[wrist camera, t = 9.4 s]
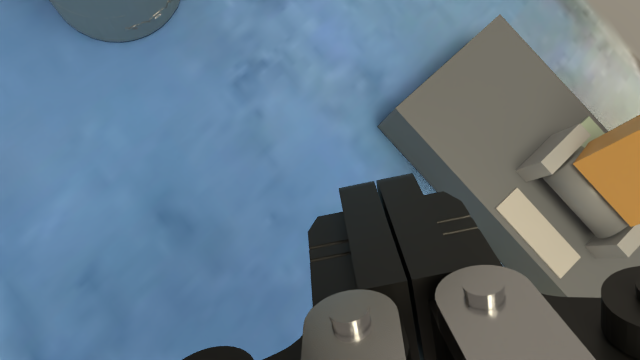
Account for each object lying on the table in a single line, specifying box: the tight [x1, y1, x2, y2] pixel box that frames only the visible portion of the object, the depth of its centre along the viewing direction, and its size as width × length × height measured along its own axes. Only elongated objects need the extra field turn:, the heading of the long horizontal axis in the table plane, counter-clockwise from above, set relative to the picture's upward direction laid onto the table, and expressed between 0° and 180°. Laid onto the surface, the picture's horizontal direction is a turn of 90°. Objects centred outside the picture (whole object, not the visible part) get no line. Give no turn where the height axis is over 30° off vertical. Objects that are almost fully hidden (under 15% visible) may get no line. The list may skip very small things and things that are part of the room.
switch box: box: [378, 15, 640, 298], centre depth 38 cm, size 24×10×8 cm, turn 42°
